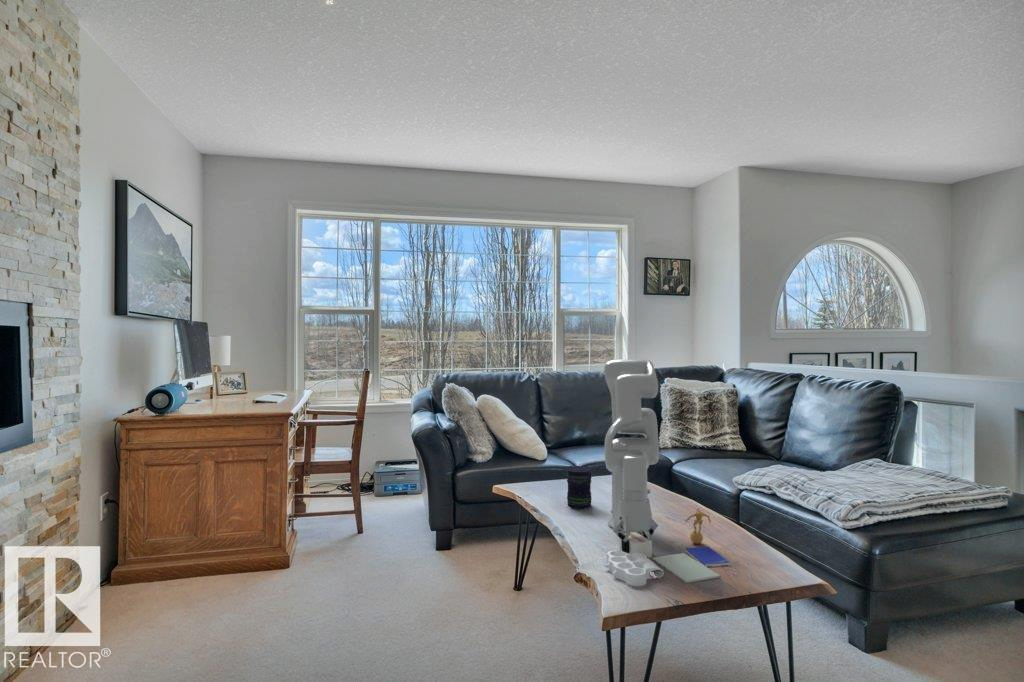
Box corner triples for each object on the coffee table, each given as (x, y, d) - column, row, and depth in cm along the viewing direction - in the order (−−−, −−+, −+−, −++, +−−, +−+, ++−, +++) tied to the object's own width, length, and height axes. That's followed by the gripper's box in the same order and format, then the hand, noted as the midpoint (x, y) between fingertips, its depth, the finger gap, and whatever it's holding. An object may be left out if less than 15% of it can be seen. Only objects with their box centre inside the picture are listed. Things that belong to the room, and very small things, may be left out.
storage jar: (565, 502, 225) (565, 466, 225) (589, 502, 226) (588, 466, 226) (569, 509, 215) (568, 472, 215) (593, 509, 216) (593, 471, 216)
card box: (619, 549, 174) (619, 533, 174) (635, 547, 176) (635, 531, 176) (635, 560, 165) (635, 543, 165) (652, 557, 168) (651, 540, 168)
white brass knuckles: (669, 584, 150) (620, 589, 147) (640, 558, 167) (595, 563, 164) (669, 571, 150) (619, 577, 147) (640, 547, 167) (595, 552, 164)
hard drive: (730, 561, 161) (709, 546, 173) (704, 563, 160) (685, 547, 172) (730, 567, 161) (709, 551, 173) (704, 568, 160) (685, 552, 172)
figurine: (706, 541, 181) (706, 504, 181) (713, 547, 175) (713, 510, 175) (682, 541, 181) (681, 505, 181) (688, 548, 174) (687, 510, 175)
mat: (652, 559, 166) (652, 557, 166) (683, 554, 169) (683, 553, 169) (686, 582, 149) (686, 580, 149) (720, 577, 153) (720, 575, 153)
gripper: (652, 489, 177) (653, 544, 177) (604, 493, 172) (605, 550, 172) (665, 495, 170) (666, 552, 170) (616, 500, 165) (616, 559, 164)
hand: (635, 551), depth 171 cm, fingers closed on card box, 6 cm apart
